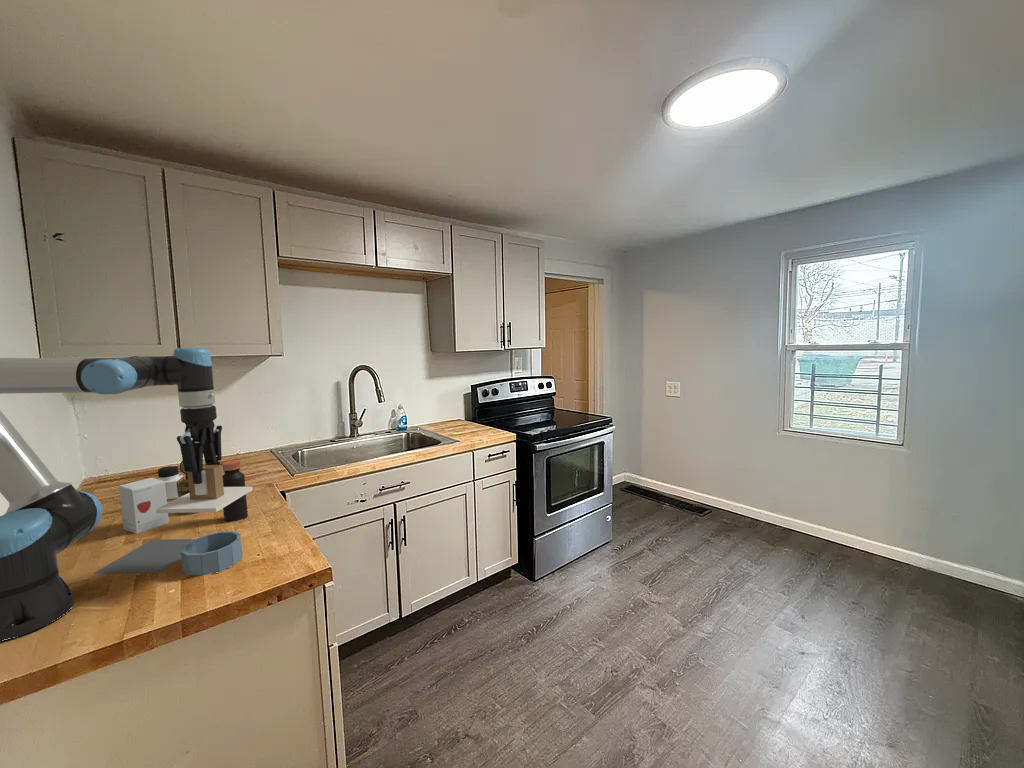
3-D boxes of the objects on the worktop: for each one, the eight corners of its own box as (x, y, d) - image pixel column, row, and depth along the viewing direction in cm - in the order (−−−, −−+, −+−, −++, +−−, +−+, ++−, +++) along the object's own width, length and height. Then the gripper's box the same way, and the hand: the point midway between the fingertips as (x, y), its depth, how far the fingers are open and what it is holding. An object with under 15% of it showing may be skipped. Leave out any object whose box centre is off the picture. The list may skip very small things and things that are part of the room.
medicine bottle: (178, 498, 158) (175, 468, 157) (155, 501, 156) (152, 470, 154) (185, 492, 165) (182, 463, 164) (163, 494, 162) (160, 465, 161)
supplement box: (136, 535, 129) (130, 490, 127) (122, 529, 133) (117, 485, 131) (170, 523, 137) (165, 480, 135) (156, 518, 141) (152, 476, 139)
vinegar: (236, 523, 136) (230, 466, 134) (219, 522, 138) (213, 464, 135) (252, 515, 143) (248, 459, 141) (236, 513, 144) (231, 458, 142)
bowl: (221, 576, 106) (219, 554, 106) (171, 577, 106) (168, 555, 105) (252, 550, 119) (250, 530, 119) (207, 551, 119) (205, 531, 118)
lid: (216, 512, 103) (212, 475, 102) (156, 513, 103) (152, 476, 102) (252, 489, 118) (249, 458, 117) (200, 490, 118) (196, 458, 117)
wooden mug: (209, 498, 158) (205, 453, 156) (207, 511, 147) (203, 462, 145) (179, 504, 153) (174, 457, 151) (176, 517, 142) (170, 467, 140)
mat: (162, 574, 108) (162, 572, 107) (92, 575, 107) (92, 573, 107) (211, 540, 125) (210, 538, 125) (151, 541, 125) (151, 539, 125)
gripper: (189, 411, 100) (198, 503, 102) (232, 401, 116) (239, 481, 118) (157, 412, 100) (168, 504, 102) (205, 401, 116) (213, 481, 118)
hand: (206, 491), depth 110 cm, fingers closed on lid, 3 cm apart
